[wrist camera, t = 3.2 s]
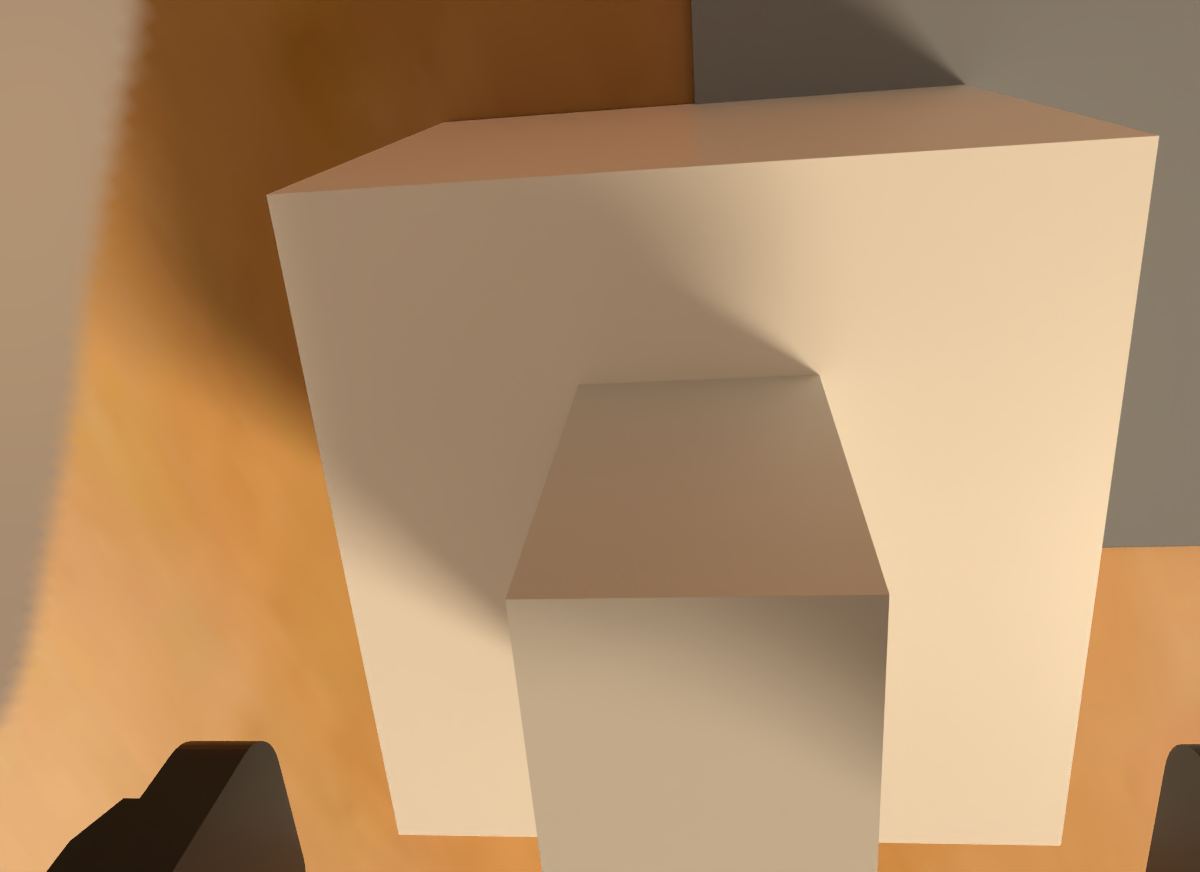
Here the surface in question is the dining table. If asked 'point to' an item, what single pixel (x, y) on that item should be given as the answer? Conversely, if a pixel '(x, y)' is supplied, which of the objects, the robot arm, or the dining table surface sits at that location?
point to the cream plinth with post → (725, 466)
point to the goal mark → (1052, 78)
